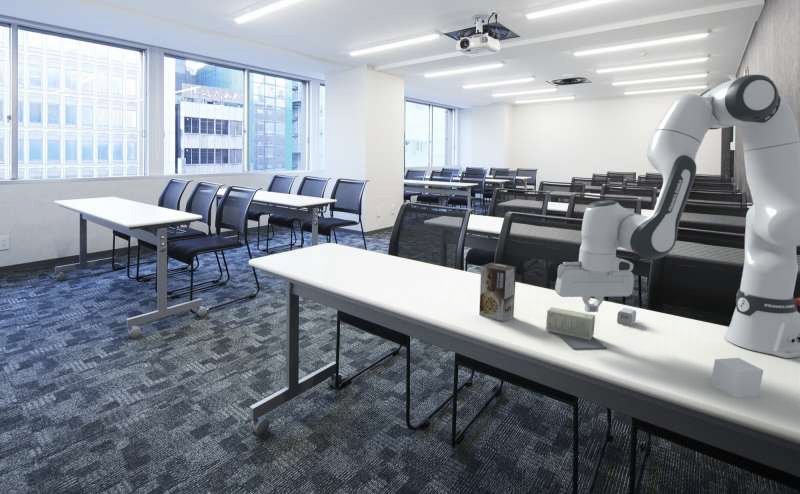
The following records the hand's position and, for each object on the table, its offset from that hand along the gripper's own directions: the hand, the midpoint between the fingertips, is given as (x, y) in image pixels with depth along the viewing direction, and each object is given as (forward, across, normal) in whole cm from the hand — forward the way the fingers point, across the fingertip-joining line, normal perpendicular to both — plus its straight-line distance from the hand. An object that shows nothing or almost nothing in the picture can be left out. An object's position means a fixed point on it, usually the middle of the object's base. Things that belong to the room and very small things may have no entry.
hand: (591, 311), depth 123 cm
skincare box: (+5, +1, 0) cm, 5 cm away
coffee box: (+8, -20, +20) cm, 30 cm away
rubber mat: (+8, -3, 0) cm, 9 cm away
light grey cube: (+8, +19, -28) cm, 35 cm away
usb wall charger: (+8, +19, +13) cm, 24 cm away
